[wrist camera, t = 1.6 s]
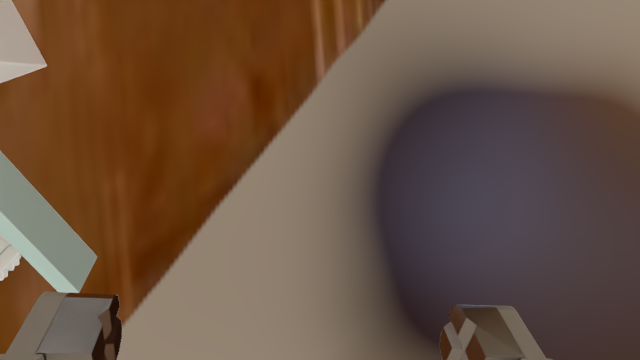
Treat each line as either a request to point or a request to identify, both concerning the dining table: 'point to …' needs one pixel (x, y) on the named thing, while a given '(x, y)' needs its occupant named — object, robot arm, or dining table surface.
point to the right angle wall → (38, 234)
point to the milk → (16, 45)
